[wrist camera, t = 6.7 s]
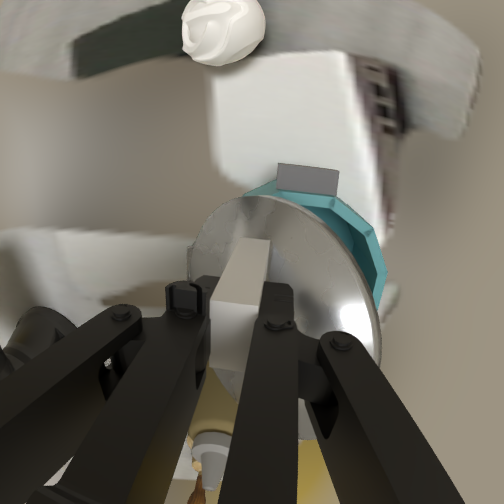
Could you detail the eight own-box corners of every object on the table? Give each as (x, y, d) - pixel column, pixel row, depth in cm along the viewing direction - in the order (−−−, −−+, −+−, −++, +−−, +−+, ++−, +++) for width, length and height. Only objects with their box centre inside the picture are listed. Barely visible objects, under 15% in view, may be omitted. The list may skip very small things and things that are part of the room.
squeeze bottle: (197, 339, 36) (151, 460, 20) (264, 338, 36) (252, 470, 19) (207, 386, 39) (176, 499, 22) (267, 387, 38) (259, 507, 21)
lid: (334, 469, 15) (304, 495, 14) (195, 352, 26) (167, 362, 24) (423, 239, 10) (394, 252, 9) (197, 177, 21) (160, 179, 19)
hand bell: (190, 453, 46) (171, 526, 31) (183, 426, 43) (157, 508, 28) (237, 458, 45) (225, 535, 30) (234, 432, 42) (220, 519, 27)
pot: (341, 326, 34) (355, 377, 26) (211, 314, 35) (193, 363, 27) (370, 171, 28) (405, 183, 20) (218, 154, 29) (195, 158, 21)
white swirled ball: (189, 12, 24) (165, -19, 17) (263, 3, 23) (259, -34, 16) (192, 79, 27) (166, 60, 19) (269, 70, 26) (267, 47, 19)
